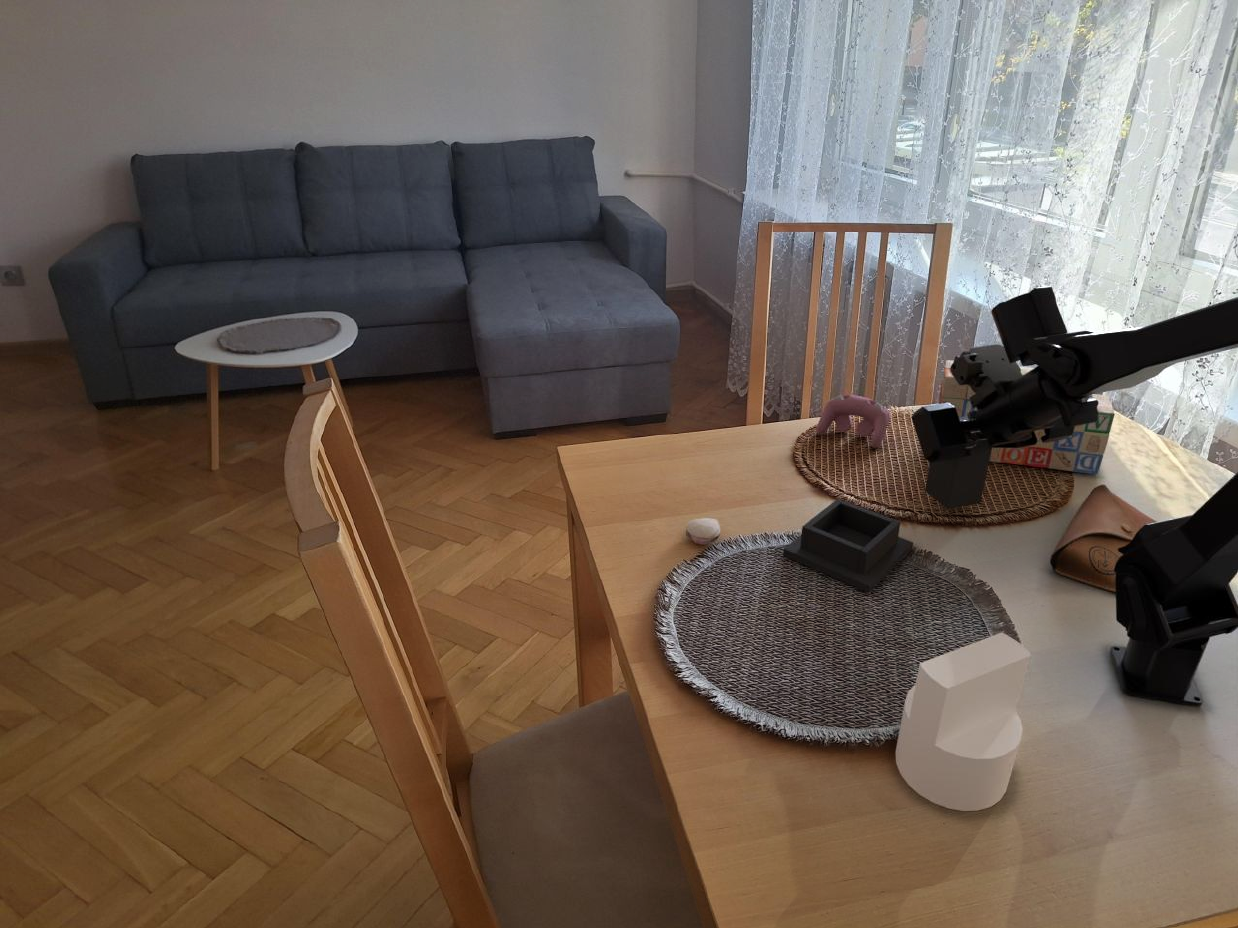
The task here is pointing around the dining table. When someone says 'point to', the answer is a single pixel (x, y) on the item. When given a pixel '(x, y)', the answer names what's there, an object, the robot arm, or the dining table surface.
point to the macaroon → (703, 530)
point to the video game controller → (857, 406)
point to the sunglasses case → (1097, 539)
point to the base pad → (850, 544)
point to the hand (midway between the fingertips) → (954, 446)
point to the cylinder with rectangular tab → (964, 724)
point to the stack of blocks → (1065, 454)
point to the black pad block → (960, 477)
